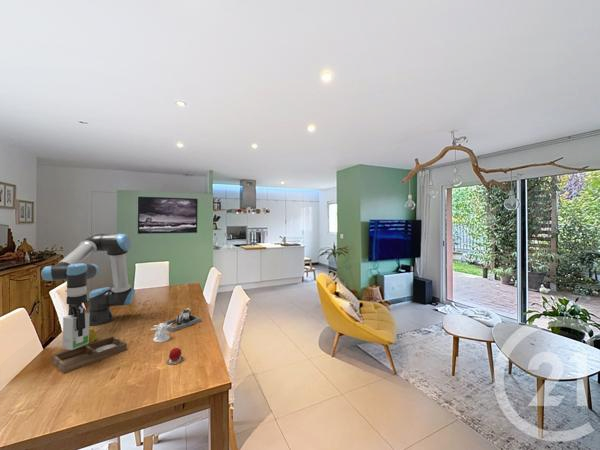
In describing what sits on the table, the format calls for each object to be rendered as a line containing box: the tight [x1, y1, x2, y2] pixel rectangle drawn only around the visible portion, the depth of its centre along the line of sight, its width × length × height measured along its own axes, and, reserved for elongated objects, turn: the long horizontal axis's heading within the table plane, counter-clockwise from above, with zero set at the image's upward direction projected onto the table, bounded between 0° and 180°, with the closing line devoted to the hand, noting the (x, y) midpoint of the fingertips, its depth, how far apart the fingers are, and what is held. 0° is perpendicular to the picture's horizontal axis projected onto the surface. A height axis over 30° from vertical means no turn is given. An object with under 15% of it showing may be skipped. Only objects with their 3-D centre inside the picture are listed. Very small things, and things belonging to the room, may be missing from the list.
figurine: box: [150, 322, 172, 344], centre depth 150 cm, size 12×9×10 cm
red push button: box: [165, 347, 185, 365], centre depth 128 cm, size 8×8×6 cm
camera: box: [176, 307, 192, 327], centre depth 176 cm, size 16×9×10 cm, turn 19°
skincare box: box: [61, 312, 90, 351], centre depth 124 cm, size 8×7×16 cm
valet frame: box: [163, 314, 202, 333], centre depth 173 cm, size 14×21×2 cm, turn 148°
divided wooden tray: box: [51, 335, 128, 374], centre depth 129 cm, size 16×26×4 cm, turn 148°
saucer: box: [96, 344, 116, 352], centre depth 135 cm, size 10×10×2 cm
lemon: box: [85, 328, 97, 345], centre depth 144 cm, size 11×8×8 cm
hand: (76, 340), depth 124 cm, fingers closed on skincare box, 8 cm apart
